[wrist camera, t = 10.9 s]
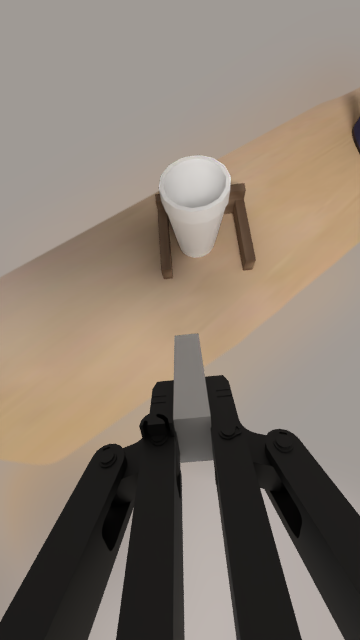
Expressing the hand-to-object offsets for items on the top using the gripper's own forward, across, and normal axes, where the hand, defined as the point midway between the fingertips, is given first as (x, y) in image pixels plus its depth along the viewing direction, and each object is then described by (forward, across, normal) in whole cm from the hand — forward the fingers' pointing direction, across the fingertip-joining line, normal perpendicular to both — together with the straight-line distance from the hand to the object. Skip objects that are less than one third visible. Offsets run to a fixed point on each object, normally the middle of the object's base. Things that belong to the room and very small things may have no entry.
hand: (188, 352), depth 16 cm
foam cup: (+33, +3, +1) cm, 33 cm away
